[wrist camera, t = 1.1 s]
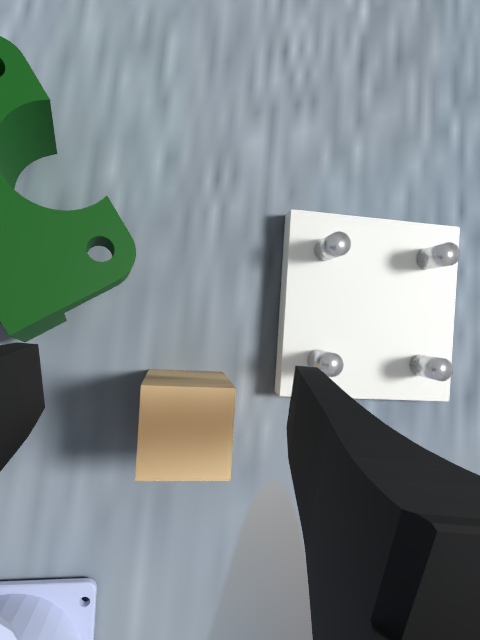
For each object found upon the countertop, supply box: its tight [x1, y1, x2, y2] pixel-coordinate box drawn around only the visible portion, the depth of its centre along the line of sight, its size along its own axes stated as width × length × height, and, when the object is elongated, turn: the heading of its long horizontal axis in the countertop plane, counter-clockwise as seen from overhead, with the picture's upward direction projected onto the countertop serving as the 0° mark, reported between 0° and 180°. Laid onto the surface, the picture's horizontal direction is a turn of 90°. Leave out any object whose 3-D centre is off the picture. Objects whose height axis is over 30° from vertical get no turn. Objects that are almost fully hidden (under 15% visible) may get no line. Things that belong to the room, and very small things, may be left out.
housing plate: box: [275, 209, 460, 401], centre depth 22 cm, size 10×10×3 cm
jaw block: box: [135, 369, 236, 481], centre depth 19 cm, size 4×4×5 cm
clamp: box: [0, 36, 136, 342], centre depth 18 cm, size 12×6×9 cm, turn 24°
